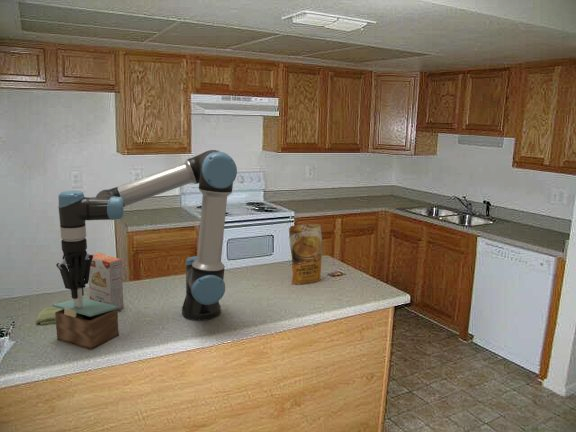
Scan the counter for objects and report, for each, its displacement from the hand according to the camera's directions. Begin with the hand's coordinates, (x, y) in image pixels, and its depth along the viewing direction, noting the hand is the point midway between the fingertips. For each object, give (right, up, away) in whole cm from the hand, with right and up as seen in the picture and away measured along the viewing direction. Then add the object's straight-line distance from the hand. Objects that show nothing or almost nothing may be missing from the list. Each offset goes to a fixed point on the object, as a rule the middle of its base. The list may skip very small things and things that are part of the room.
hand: (78, 306), depth 157 cm
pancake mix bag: (+79, -1, +68) cm, 104 cm away
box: (+1, -12, +5) cm, 13 cm away
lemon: (0, -10, +4) cm, 11 cm away
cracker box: (-3, -6, +32) cm, 33 cm away
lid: (+1, -2, +3) cm, 4 cm away
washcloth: (-15, -9, +22) cm, 28 cm away
